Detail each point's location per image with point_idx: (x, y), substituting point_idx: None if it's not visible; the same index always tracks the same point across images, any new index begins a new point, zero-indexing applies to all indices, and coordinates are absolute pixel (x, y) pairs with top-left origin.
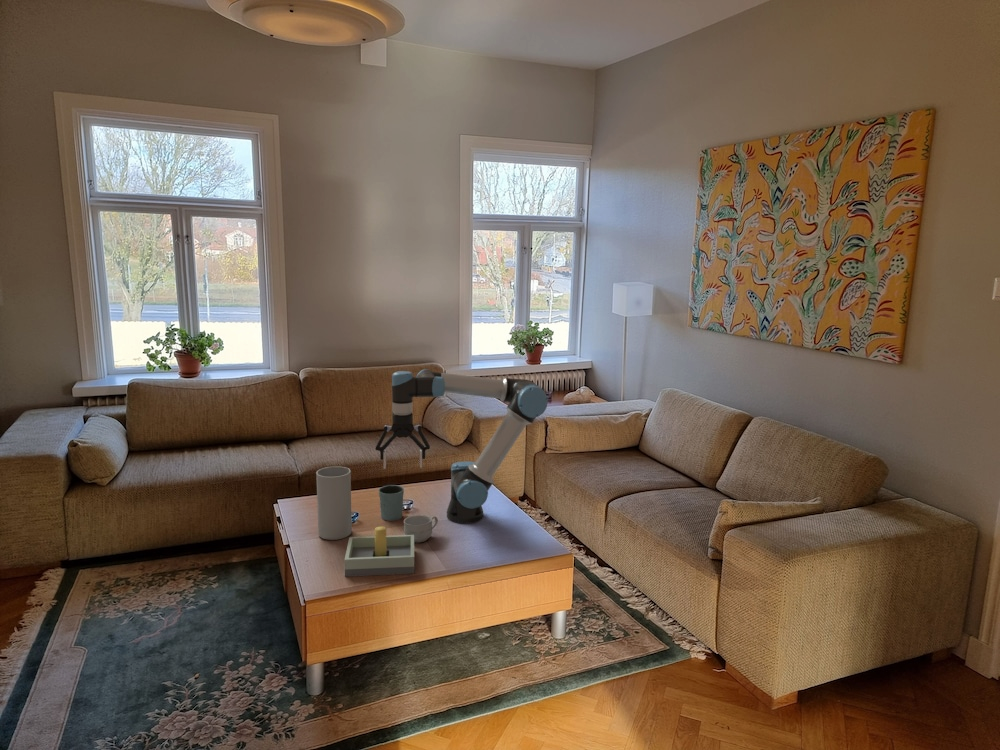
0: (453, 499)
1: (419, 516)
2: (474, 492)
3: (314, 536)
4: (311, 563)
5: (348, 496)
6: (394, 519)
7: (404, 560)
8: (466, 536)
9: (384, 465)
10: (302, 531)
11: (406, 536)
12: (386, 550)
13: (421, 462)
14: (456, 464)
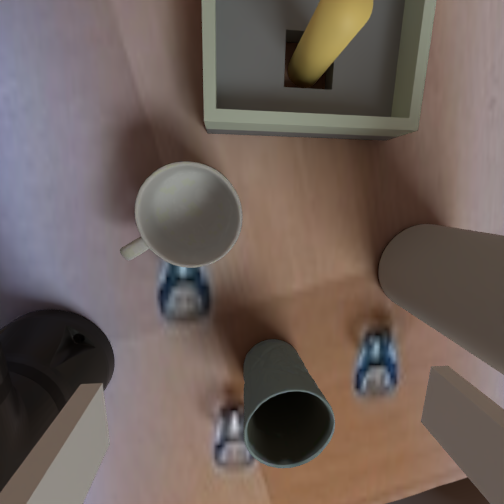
0: (55, 382)
1: (185, 262)
2: None
3: None
4: (483, 83)
5: (489, 285)
6: (264, 341)
7: None
8: (44, 217)
9: (468, 388)
10: None
11: (230, 110)
12: (296, 51)
13: (49, 435)
14: None
